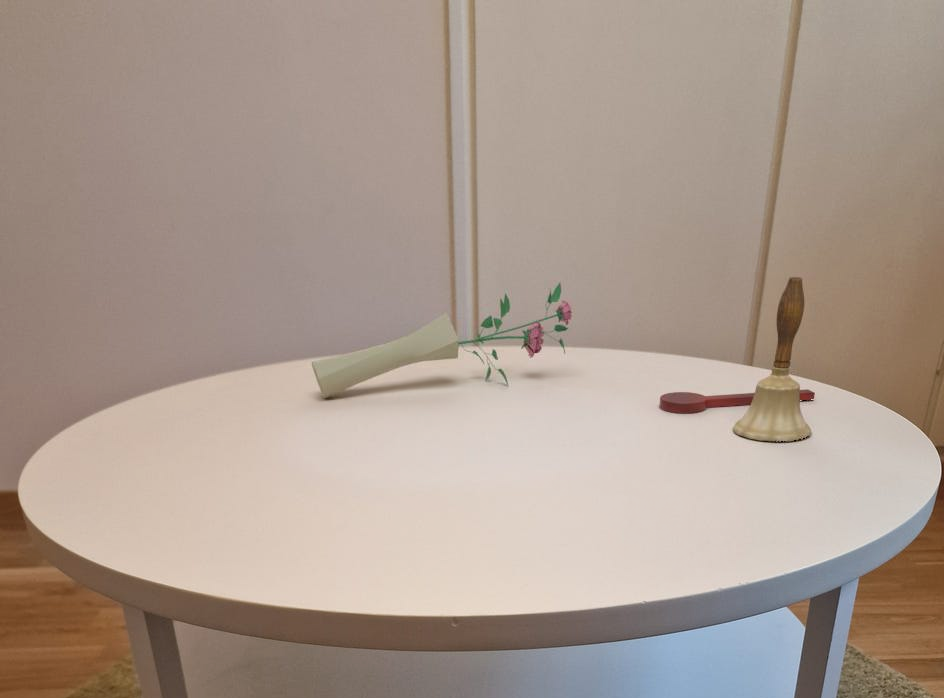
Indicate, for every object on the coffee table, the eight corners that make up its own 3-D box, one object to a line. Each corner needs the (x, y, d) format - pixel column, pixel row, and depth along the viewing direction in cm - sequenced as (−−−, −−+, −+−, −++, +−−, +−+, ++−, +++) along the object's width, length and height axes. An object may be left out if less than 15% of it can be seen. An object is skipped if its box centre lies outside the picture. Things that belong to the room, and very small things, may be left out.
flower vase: (338, 444, 124) (566, 366, 128) (343, 442, 112) (594, 356, 116) (308, 361, 121) (542, 283, 125) (310, 350, 109) (568, 265, 113)
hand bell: (750, 417, 103) (769, 271, 95) (821, 428, 98) (848, 275, 91) (720, 435, 97) (738, 280, 90) (795, 447, 93) (820, 285, 85)
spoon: (799, 393, 112) (801, 384, 111) (821, 404, 107) (823, 394, 107) (653, 403, 110) (654, 393, 109) (668, 414, 105) (669, 404, 105)
